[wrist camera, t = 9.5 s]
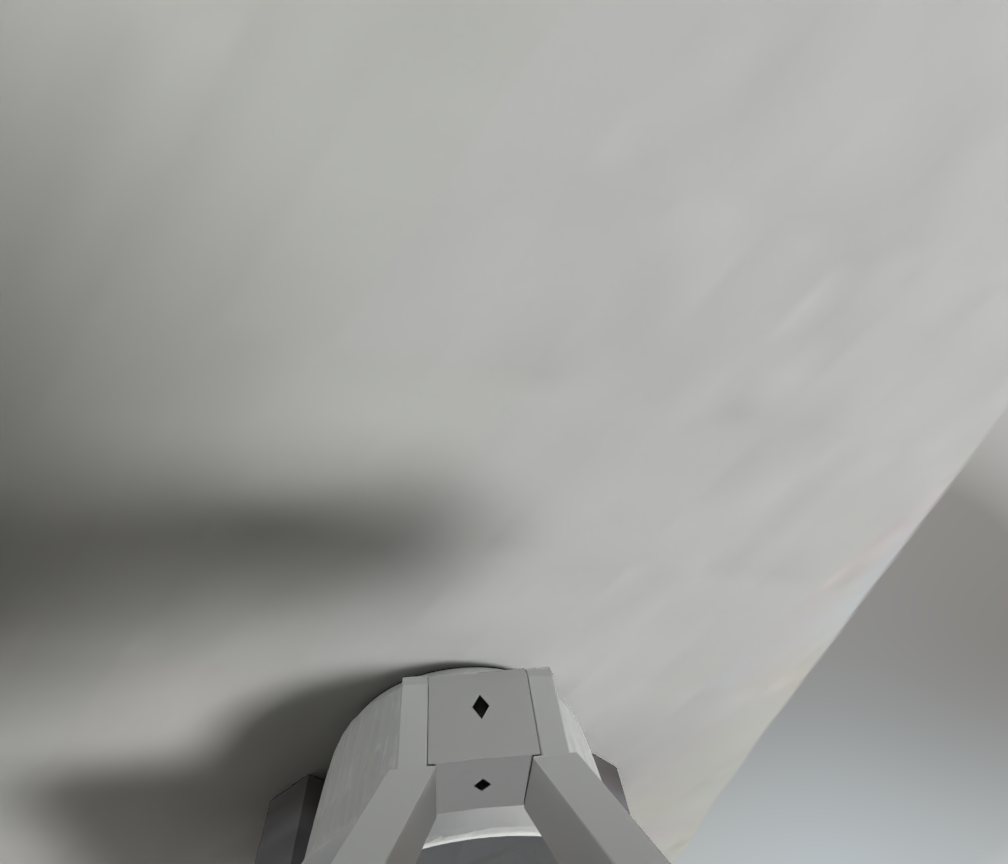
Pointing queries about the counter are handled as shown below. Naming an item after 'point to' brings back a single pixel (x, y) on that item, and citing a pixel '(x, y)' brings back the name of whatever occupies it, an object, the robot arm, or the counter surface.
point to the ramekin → (455, 835)
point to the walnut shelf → (299, 807)
